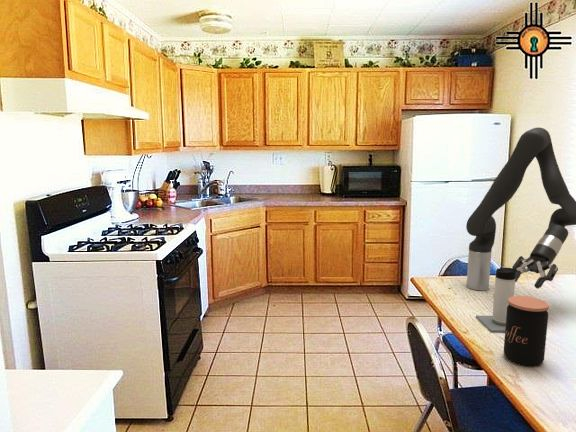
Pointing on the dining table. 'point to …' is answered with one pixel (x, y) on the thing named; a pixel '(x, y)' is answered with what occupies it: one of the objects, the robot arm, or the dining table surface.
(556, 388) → the dining table surface
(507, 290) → the travel mug
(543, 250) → the robot arm
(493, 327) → the slate mat
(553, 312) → the dining table surface
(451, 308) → the dining table surface
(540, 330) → the coffee jar
